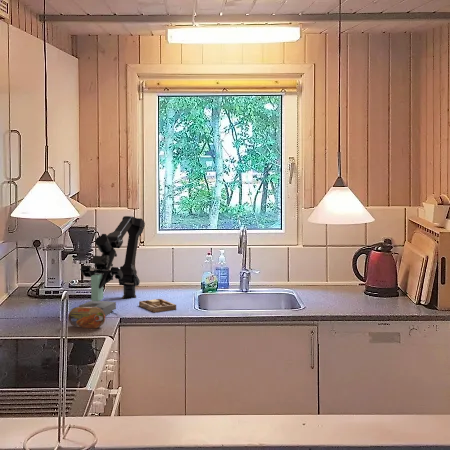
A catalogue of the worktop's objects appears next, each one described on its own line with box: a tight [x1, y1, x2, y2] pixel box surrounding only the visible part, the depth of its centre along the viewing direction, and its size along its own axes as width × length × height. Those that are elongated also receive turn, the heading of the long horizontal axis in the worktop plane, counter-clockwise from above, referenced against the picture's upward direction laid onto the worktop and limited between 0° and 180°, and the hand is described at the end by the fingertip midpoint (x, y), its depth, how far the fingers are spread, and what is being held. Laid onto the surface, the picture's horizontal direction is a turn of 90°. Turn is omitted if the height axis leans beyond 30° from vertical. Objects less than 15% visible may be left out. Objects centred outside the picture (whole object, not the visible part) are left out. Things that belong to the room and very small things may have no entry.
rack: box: [138, 298, 177, 313], centre depth 330 cm, size 15×11×3 cm
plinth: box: [78, 300, 117, 317], centre depth 323 cm, size 12×12×4 cm
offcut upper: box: [148, 299, 160, 305], centre depth 333 cm, size 4×4×1 cm
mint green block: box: [90, 274, 104, 301], centre depth 322 cm, size 5×3×11 cm, turn 162°
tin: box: [68, 306, 106, 329], centre depth 299 cm, size 15×3×8 cm, turn 80°
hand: (95, 287), depth 321 cm, fingers closed on mint green block, 3 cm apart
